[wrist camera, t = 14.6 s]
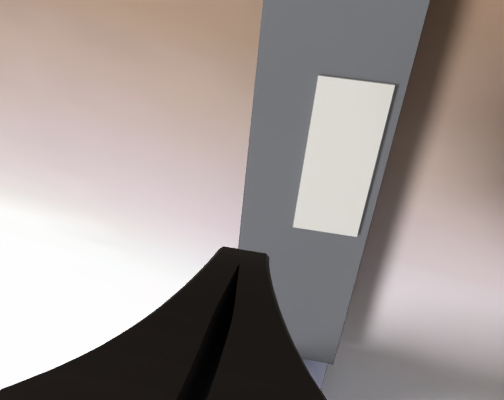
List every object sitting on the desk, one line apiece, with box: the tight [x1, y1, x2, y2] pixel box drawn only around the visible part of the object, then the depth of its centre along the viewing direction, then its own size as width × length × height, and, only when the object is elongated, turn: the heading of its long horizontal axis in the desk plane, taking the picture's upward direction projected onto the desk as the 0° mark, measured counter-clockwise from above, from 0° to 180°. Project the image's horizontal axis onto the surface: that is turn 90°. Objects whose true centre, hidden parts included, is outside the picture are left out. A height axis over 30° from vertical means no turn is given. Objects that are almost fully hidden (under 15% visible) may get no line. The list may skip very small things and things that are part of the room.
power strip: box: [238, 0, 430, 364], centre depth 19 cm, size 24×6×2 cm, turn 174°
